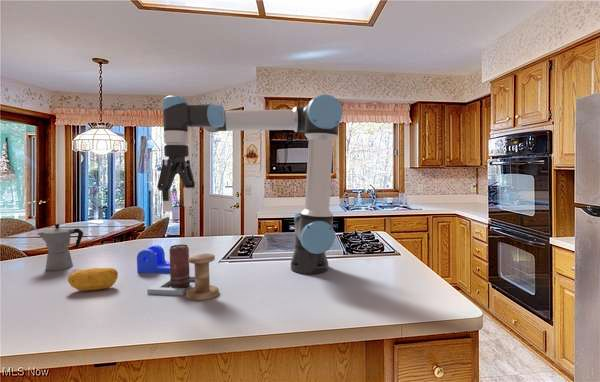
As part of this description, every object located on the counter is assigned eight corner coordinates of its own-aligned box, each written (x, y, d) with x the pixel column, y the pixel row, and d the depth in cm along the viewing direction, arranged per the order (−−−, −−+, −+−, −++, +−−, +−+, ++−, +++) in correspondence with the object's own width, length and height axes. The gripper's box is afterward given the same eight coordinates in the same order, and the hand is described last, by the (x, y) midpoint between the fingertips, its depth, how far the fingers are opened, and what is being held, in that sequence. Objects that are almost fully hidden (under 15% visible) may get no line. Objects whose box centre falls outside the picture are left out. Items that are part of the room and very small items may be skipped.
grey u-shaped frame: (202, 279, 118) (202, 275, 118) (182, 295, 103) (182, 290, 103) (171, 278, 120) (171, 274, 120) (147, 293, 105) (147, 289, 105)
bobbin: (223, 289, 108) (222, 253, 107) (211, 301, 98) (210, 261, 98) (194, 288, 110) (193, 252, 109) (180, 300, 100) (178, 260, 99)
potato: (77, 286, 112) (75, 266, 111) (121, 284, 114) (121, 264, 113) (65, 294, 105) (63, 273, 104) (113, 292, 107) (112, 271, 106)
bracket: (137, 272, 127) (136, 250, 126) (148, 266, 135) (148, 245, 134) (182, 273, 125) (181, 250, 125) (191, 267, 134) (190, 245, 133)
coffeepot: (35, 272, 127) (32, 227, 126) (43, 266, 135) (41, 223, 134) (82, 268, 133) (80, 224, 132) (87, 261, 141) (85, 220, 140)
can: (184, 290, 108) (183, 248, 107) (167, 289, 109) (165, 247, 108) (193, 283, 114) (192, 244, 113) (177, 282, 115) (175, 243, 114)
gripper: (183, 147, 121) (185, 204, 122) (142, 142, 96) (145, 213, 98) (203, 147, 120) (204, 204, 121) (166, 141, 95) (169, 213, 97)
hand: (178, 208), depth 109 cm, fingers open, 13 cm apart
